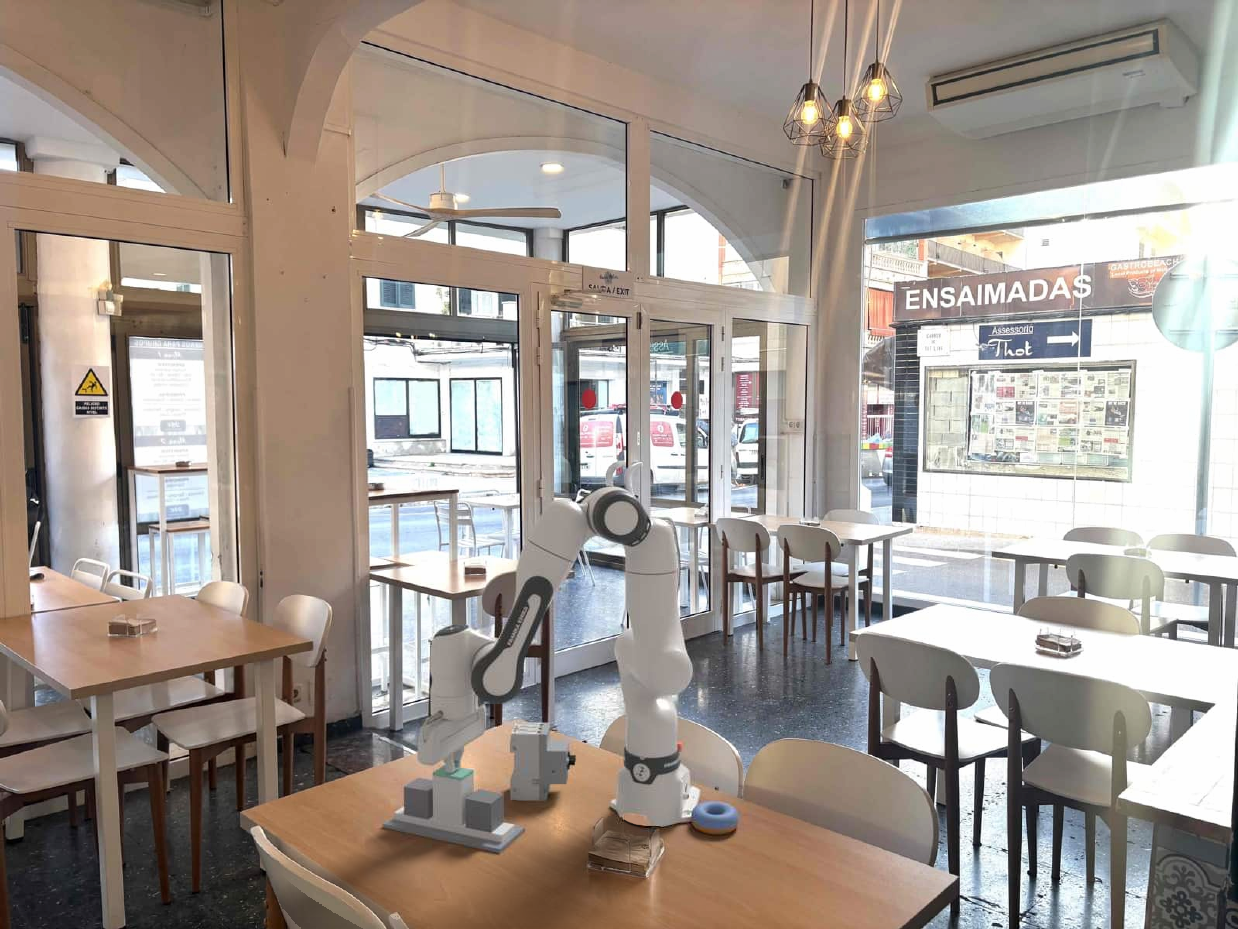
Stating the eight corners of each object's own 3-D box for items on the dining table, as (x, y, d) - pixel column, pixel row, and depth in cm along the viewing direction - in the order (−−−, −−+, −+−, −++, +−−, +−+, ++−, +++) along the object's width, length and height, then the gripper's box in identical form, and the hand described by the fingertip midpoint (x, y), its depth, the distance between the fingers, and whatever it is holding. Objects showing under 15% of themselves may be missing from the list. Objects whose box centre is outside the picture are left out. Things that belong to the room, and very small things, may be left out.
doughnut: (733, 839, 179) (733, 816, 179) (685, 834, 182) (685, 812, 183) (743, 823, 189) (742, 801, 189) (697, 818, 192) (696, 797, 192)
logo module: (445, 811, 187) (444, 764, 187) (473, 817, 184) (473, 769, 184) (433, 820, 183) (432, 772, 182) (462, 826, 180) (461, 778, 180)
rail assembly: (411, 808, 194) (411, 770, 193) (524, 831, 183) (524, 792, 183) (382, 827, 185) (382, 788, 184) (500, 853, 174) (499, 811, 173)
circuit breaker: (574, 801, 198) (574, 734, 197) (510, 800, 198) (509, 734, 197) (576, 786, 205) (576, 723, 204) (514, 786, 205) (514, 722, 205)
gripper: (436, 722, 172) (437, 792, 172) (491, 692, 190) (491, 755, 191) (409, 718, 174) (410, 787, 175) (466, 689, 193) (466, 751, 194)
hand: (453, 770), depth 183 cm, fingers closed
